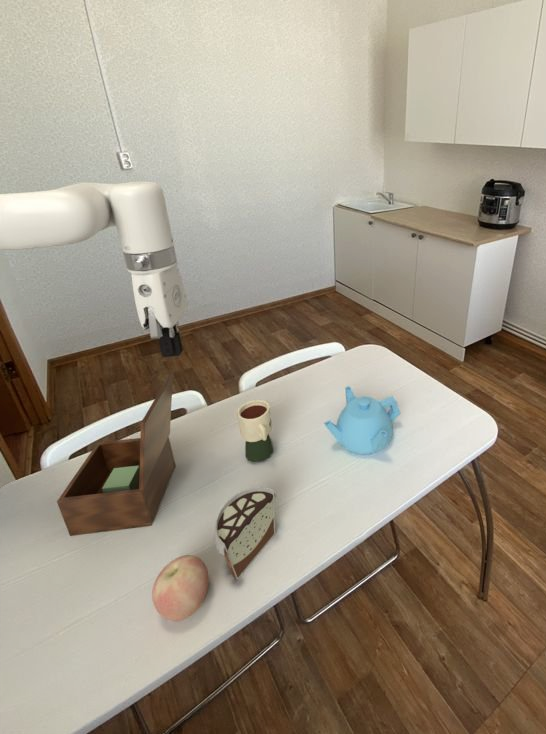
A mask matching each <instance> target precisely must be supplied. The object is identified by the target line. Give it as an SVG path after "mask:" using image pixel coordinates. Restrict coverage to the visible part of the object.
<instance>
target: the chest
mask: <svg viewBox="0 0 546 734" xmlns="http://www.w3.org/2000/svg"><path fill="white" fill-rule="evenodd" d="M130 466H139V467H140V437H137V438H127V439H117V440H115V439H114V440H106V441H98V442H97V443H96V444H95V446H94V447H93V449H92V450H91V451H90V453H89V454H88V456H87V457H86V459H85V460H84V462H83V463H82V464H81V466H80V467H79V469H78V470H77V472H76V473H75V475H74V476H73V478H72V479H71V480H70V482H69V483H68V485H67V486H66V487H65V489H64V490H63V492H62V493H61V495H60V496H59V498H58V499H57V500H56V504H57V507H58V509H59V512H60V514H61V516H62V519H63V522H64V524H65V527H66V529H67V531H68V534H69V536H70V537H73V536H81V535H89V534H97V533H98V534H99V533H104V532H105V533H106V532H113V531H120V530H129V529H130V530H131V529H136V528H137V529H139V528H144V527H146V528H147V527H152V526H153V523H154V521H155V518H156V515H157V512H158V510H159V508H160V505H161V504H162V501H163V497H164V495H165V493H166V491H167V488H168V486H169V484H170V481H171V478H172V476H173V473H174V472H175V469H176V461H175V456H174V452H173V448H172V444H171V439H170V436H169V437H168V439H167V441H166V443H165V445H164V447H163V449H162V451H161V453H160V456H159V458H158V460H157V462H156V464H155V466H154V468H153V470H152V473H151V475H150V477H149V479H148V481H147V483H146V485H145V487H144V490H139V489H136V490H127V491H118V492H109V493H103V490H102V488H103V486H104V484H105V482H106V481H107V479H108V477H109V476H110V474H111V472H112V471H113V469H114V468H121V467H130Z"/></svg>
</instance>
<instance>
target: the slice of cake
mask: <svg viewBox="0 0 546 734" xmlns="http://www.w3.org/2000/svg"><path fill="white" fill-rule="evenodd" d="M275 498H278V495H277V492H276V491H275V490H273V489H272V488H268V487H262V486H259V487H251V488H247V489H244V490H242V491H240V492H238V493H236V494H235V495H234V496H232V497H231V498H229V500H228V501H227V502H226V503H225V504H224V505H223V506H222V508H221V509H220V511H219V513H218V515H217V518H216V521H215V525H214V534H213V535H214V537H213V539H214V540H213V541H214V545H215V547H216V549H217V551H218V552H219V554H221V556H222V557H224V558H225V561H226V563H227V566H228V569H229V572H230V574H231V575H232V578H234V579H235V580H236V581H238V580H239V579H240V578H241V577H242V576H243V575H244V573H245V572H246V571H247V570H248V569H249V568H250V566H251V565H252V563H253V562H254V561H255V560H256V559H257V557H258V556H259V555H260V554H261V552H262V551H263V550H264V549H265V548H266V546H268V544H269V543H270V541H271V540H272V539H273V538H274V537H275V536H276V503H275V502H276V501H275V500H276V499H275Z"/></svg>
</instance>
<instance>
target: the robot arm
mask: <svg viewBox="0 0 546 734" xmlns="http://www.w3.org/2000/svg"><path fill="white" fill-rule="evenodd" d="M169 218H170V217H169V214H168V209H167V202H166V199H165V193H164V190H163V188H162V186H161V185H160V184H159V183H157V182H154V181H146V180H145V181H130V182H129V181H128V182H121V183H103V182H89V181H87V182H84V181H83V182H77V183H73V184H70V185H66V186H62V187H61V186H60V187H58V188H55V189H50V190H49V189H48V190H39V191H38V190H37V191H27V192H13V193H0V251H21V250H32V249H33V250H34V249H40V248H50V247H59V246H66V245H67V246H68V245H74V244H78V243H81V242H82V243H83V242H84V241H87V240H89V239H91V238H92V237H94V236H95V235H96V234H98V233H99V232H101V231H104V230H106V229H108V228H111V227H116V230H117V231H116V232H117V235H118V239H119V242H120V246H121V251H122V254H123V258H124V261H125V266H126V270H127V272H128V273H129V274H131V276H130V277H131V285H132V292H133V297H134V303H135V309H136V313H137V317H138V320H139V323H140V326H141V329H143V330H146V331H148V330H149V335H150V339H152V340H154V339H157V341H158V345H159V349H160V350H159V351H160V353H161V356H162V358H170V357H171V358H172V357H180V356H181V355H182V353H183V351H184V348H183V342H182V338H181V334H180V324H179V320H180V319H181V317H182V316H183V314H184V313H185V311H186V310H187V308H188V300H187V296H186V295H187V294H186V291H185V287H184V283H183V279H182V276H181V272H180V270H179V266H178V258H177V253H176V249H175V243H174V239H173V234H172V233H173V232H172V229H171V224H170V223H171V222H170V219H169Z"/></svg>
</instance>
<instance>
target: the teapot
mask: <svg viewBox="0 0 546 734" xmlns="http://www.w3.org/2000/svg"><path fill="white" fill-rule="evenodd" d="M345 402H346V403H345V404H346V405H345V406H344V408H343V409H342V410H341V412H340V414H339V416H338V418H337V421H336V424H335V423H334V422H333V421H331V420H330V419H328V420H327V421H324V422H323V424H324V426H325V427H326V428H327V430H328V431H329V432H330V433H331V435H332V436H333V437H334V438H335V439H336V441H337V442H338V443H339V444H340V445H341V446H342V447H343V448H344V449H346V450H347V451H349V452H350V453H353V454H355V455H362V456H365V455H372V454H376V453H377V452H380V451H381V450H383V449H384V448H385V447H387V445H388V444H389V443H390V442H391V440H392V439H393V432H394V430H393V429H394V428H393V422H394V421H395V420H396V419H397V418H398V417H399V416H400V415H401V410H400V407H399V406H398V405H399V404H398V403H397V400H396V398H395V397H394V396H393V395H391V396H388V397H386V398H384V399H382V400H380V401H378V400H377V399H376V398H374V397H370V396H359V397H356V396H355V394H354V392H353V389H352V387H351V386H349V385H348V386H345ZM387 408H390V409H389V410H387Z"/></svg>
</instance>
